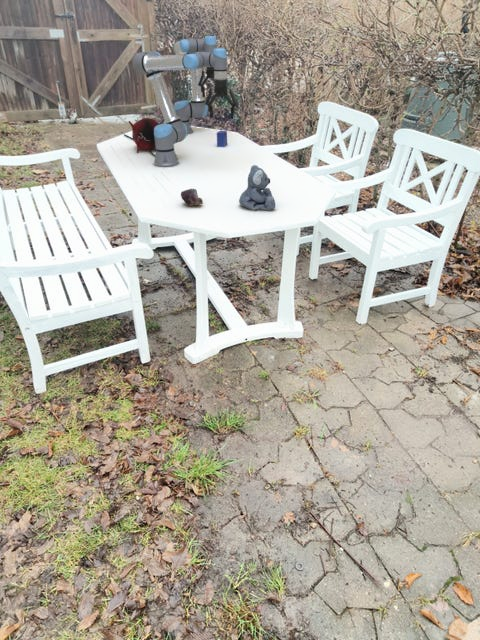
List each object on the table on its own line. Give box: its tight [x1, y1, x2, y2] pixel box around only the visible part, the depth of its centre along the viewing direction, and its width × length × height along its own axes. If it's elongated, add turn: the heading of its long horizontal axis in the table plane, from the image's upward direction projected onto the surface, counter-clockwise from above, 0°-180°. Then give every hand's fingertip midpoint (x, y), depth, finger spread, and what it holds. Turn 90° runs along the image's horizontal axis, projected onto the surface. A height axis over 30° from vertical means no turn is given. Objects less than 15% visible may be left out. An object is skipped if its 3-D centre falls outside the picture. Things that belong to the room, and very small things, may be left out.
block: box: [216, 130, 228, 148], centre depth 331 cm, size 7×5×10 cm
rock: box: [180, 188, 204, 207], centre depth 229 cm, size 12×9×10 cm
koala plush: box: [238, 164, 276, 211], centre depth 224 cm, size 17×18×20 cm
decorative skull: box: [128, 117, 161, 154], centre depth 321 cm, size 21×24×25 cm
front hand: (221, 118), depth 276 cm, fingers open, 13 cm apart
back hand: (212, 97), depth 316 cm, fingers open, 13 cm apart
